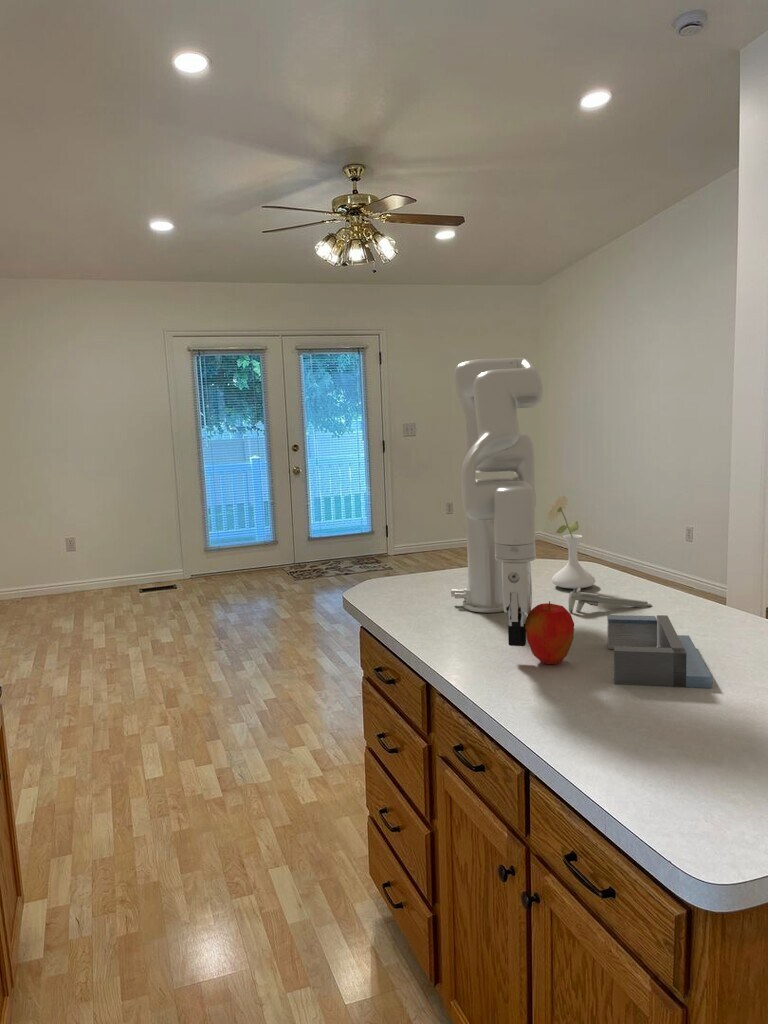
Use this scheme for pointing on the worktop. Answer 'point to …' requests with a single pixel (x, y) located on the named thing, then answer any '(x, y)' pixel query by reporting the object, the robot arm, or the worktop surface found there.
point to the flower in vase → (572, 571)
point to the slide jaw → (631, 631)
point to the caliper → (599, 600)
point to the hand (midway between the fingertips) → (517, 644)
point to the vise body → (662, 661)
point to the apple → (549, 632)
